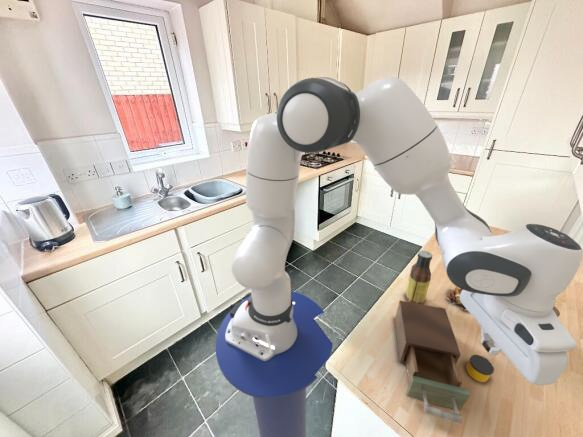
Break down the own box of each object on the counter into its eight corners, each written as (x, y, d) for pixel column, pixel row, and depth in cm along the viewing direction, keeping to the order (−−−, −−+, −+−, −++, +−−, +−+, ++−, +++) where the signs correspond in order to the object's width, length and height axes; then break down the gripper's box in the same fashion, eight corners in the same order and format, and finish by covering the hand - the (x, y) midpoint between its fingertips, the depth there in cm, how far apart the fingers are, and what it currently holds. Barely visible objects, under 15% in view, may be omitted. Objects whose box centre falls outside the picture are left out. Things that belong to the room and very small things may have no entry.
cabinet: (450, 374, 64) (461, 354, 60) (399, 362, 67) (406, 342, 63) (437, 327, 76) (445, 308, 72) (394, 319, 79) (399, 300, 75)
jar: (469, 379, 62) (474, 371, 61) (463, 361, 67) (467, 352, 65) (491, 384, 61) (497, 376, 59) (483, 365, 65) (489, 357, 64)
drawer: (467, 435, 52) (478, 420, 49) (410, 419, 55) (416, 403, 51) (444, 355, 67) (451, 340, 64) (400, 345, 70) (405, 330, 67)
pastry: (475, 293, 88) (479, 285, 86) (467, 312, 81) (470, 305, 79) (454, 283, 92) (456, 276, 91) (444, 301, 85) (446, 293, 83)
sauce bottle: (426, 298, 86) (441, 253, 77) (420, 309, 82) (435, 263, 73) (407, 289, 90) (419, 246, 81) (401, 299, 86) (413, 254, 77)
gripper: (461, 269, 55) (445, 311, 62) (549, 356, 37) (513, 402, 44) (488, 267, 55) (469, 310, 62) (589, 354, 37) (547, 400, 44)
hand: (488, 349), depth 53 cm, fingers closed
